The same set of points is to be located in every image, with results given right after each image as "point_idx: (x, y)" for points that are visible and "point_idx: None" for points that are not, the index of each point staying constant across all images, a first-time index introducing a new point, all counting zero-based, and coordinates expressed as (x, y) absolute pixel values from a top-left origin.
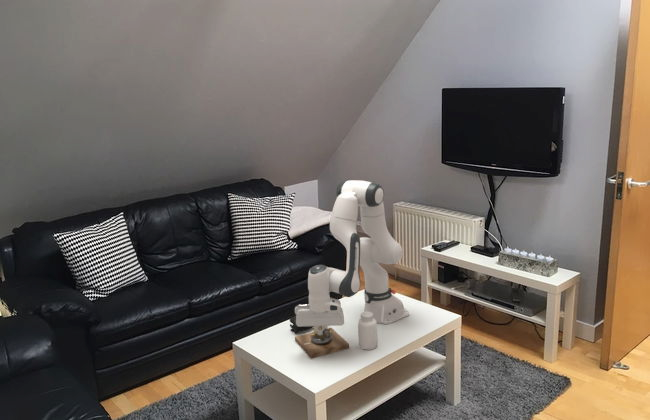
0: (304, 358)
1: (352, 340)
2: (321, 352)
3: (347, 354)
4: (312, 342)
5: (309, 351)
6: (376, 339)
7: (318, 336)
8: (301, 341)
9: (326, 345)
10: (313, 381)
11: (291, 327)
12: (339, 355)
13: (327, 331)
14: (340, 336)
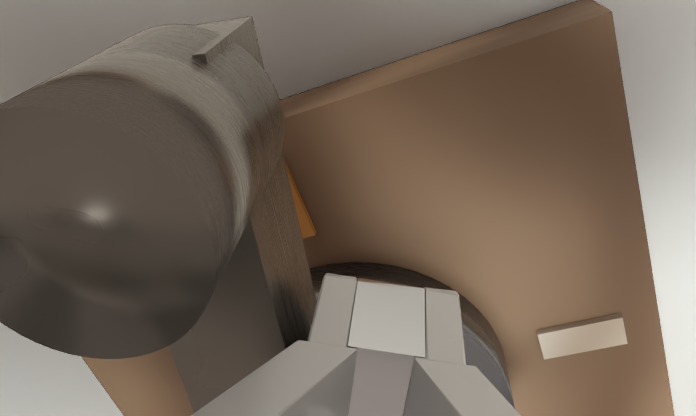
0: (692, 23)
1: (12, 341)
2: (403, 72)
3: (21, 25)
4: (500, 346)
5: (608, 116)
6: None
7: None
8: (642, 405)
9: (305, 234)
10: None
11: None
12: (135, 17)
13: (22, 108)
14: (121, 404)
